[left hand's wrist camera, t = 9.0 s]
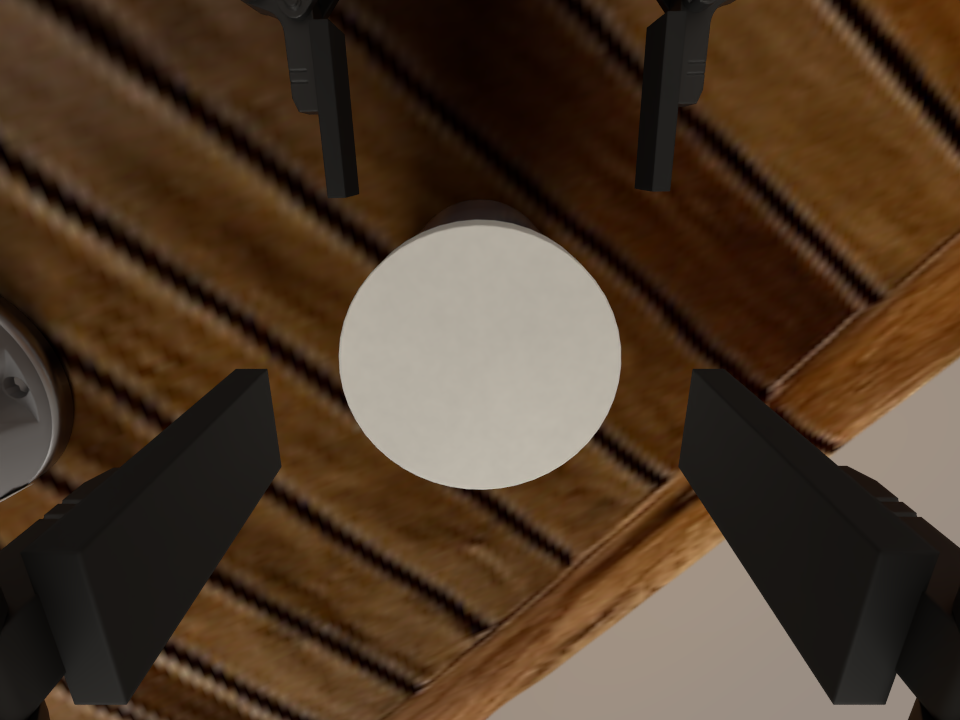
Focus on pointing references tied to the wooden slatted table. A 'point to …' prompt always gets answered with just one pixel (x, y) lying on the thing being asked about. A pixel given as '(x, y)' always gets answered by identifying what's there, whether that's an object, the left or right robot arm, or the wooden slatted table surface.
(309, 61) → the right robot arm
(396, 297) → the lid
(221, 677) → the wooden slatted table surface
